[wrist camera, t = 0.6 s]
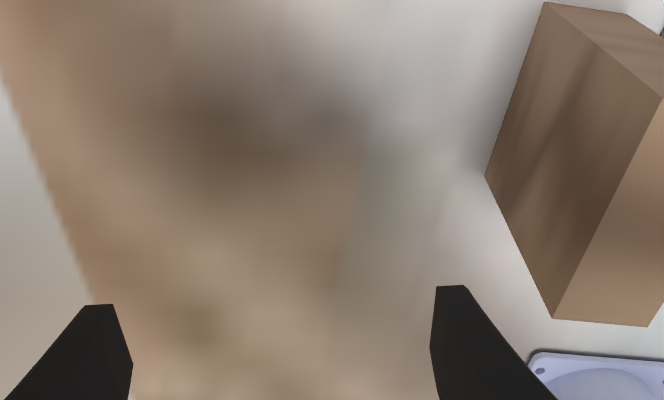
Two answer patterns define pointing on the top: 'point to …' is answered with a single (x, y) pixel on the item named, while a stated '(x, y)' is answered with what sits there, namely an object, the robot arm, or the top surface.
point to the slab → (587, 165)
